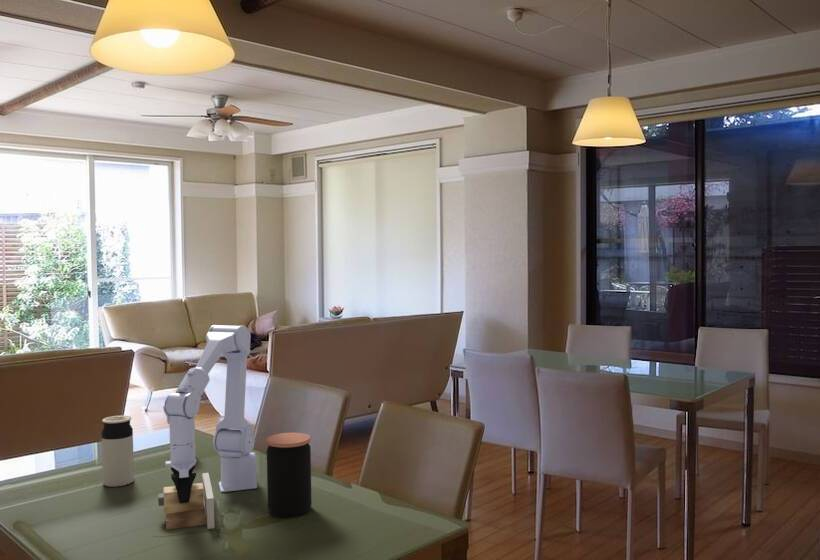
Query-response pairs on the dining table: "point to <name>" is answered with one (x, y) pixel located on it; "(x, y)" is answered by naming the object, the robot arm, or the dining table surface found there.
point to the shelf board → (208, 500)
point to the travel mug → (117, 451)
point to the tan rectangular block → (172, 502)
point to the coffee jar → (289, 474)
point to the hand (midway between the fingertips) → (183, 498)
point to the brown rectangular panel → (186, 519)
